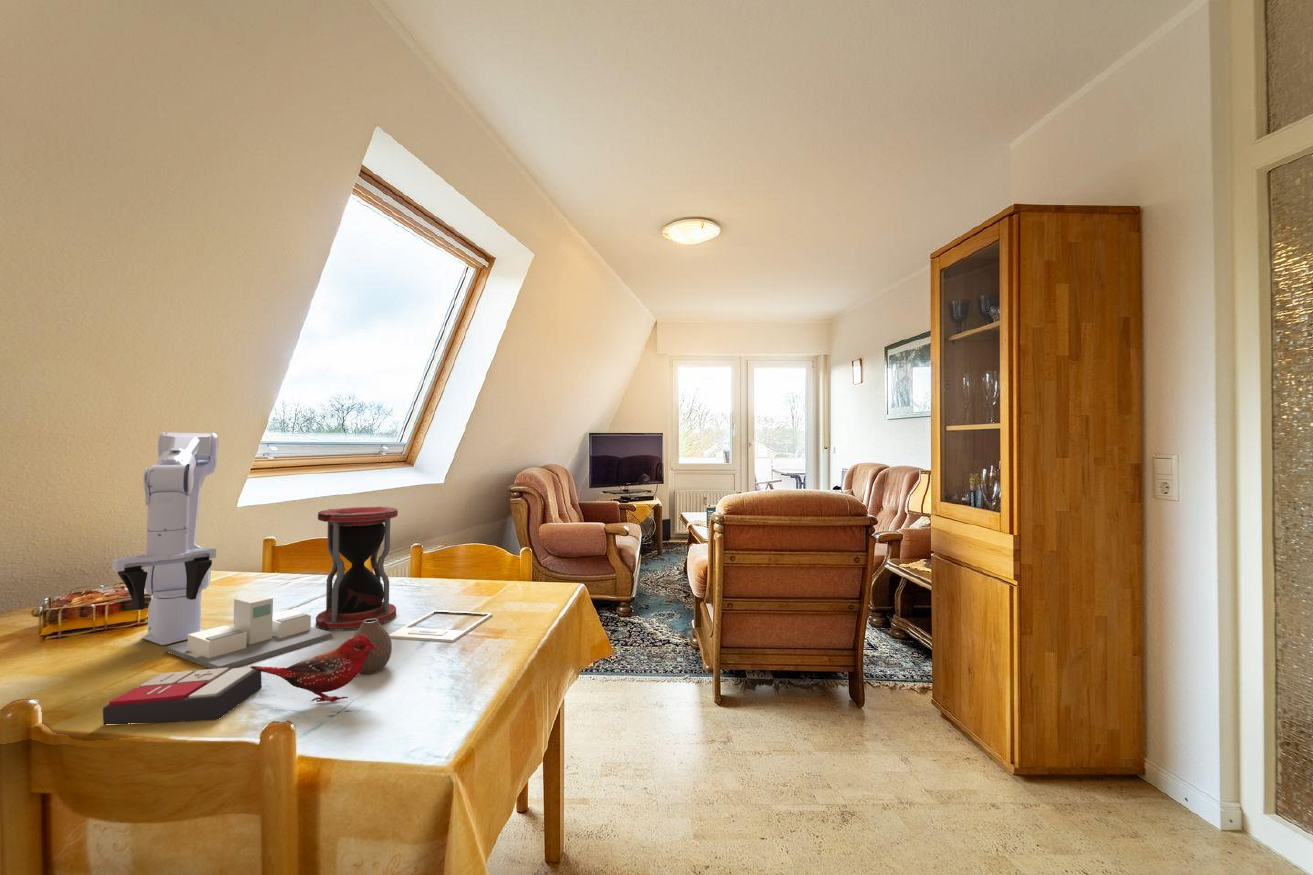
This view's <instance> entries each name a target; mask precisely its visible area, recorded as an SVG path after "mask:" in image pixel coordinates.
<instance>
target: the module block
mask: <svg viewBox="0 0 1313 875" xmlns="http://www.w3.org/2000/svg"><path fill="white" fill-rule="evenodd" d="M233 600H234V601H233V628H235V629H239V630H242V631H245V632H247V636H246V644H249V645H251V644H254V643H258V642H261V641H265V640H268V639H272V622H273V614H274V612H273V610H274V609H273V608H274V598H273V597H270V596H265V595H261V594H252V595H247V596H242V597H238V598H233Z"/></svg>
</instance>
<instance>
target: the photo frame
mask: <svg viewBox="0 0 1313 875" xmlns="http://www.w3.org/2000/svg"><path fill="white" fill-rule="evenodd" d="M435 611H441V612H457V613H471V614H470V615H474V614H488V615H484V616H483V617H481V619H479V620H477V621H476V622H474V623H473V624H472V625H470V626H468V627H466V628H465V629H464V630H458V629H457V630H453V629H441V628H440V629H438V628H437V629H435V628H421V627H413V626H416V625H417V624H419V623H421V622H422V621H425V620H427V619H428V618H430V617H431V616H430V615H432V614H435V613H436V612H435ZM434 612H435V613H434ZM429 616H430V617H429ZM432 616H433V615H432ZM490 616H491V617H492V616H493V613H492V612H473V611H458V610H457V611H456V610H454V611H453V610H440V609H439V610H438V609H436V610H435V609H434V610H432V611H431V612H429V613H427V614H425V615H423V616H421V617H420V618H417V619H415V620H413V621H412V622H410V623H408V624H406V625H405V626H402V627H401V628H399V629H397V630H395V631H393V632H391V633H388V634H389V636H390V639H397V640H410V641H411V640H412V641H426V642H427V641H429V642H430V641H431V642H444V643H445V642H446V643H447V642H449V643H454V642H456V641H457V640H459V639H460V638H462V637H463V636H465V635H466V634H468V633H469V632H471V631H472V630H474V629H475V628H476V627H477V625H478V626H479V625H481V624H482V623H484V622H485V621H486V619H487V620H488V619H489V617H490ZM427 617H428V618H427ZM491 617H490V618H491ZM424 619H425V620H424ZM420 621H421V622H420ZM483 621H484V622H483ZM418 622H419V623H418ZM481 622H482V623H481ZM480 623H481V624H480Z"/></svg>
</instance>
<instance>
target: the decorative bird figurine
mask: <svg viewBox="0 0 1313 875" xmlns="http://www.w3.org/2000/svg"><path fill="white" fill-rule="evenodd" d="M376 648H377V647H376V646H375V645H373V644H372V643H371V642H370V639H369V638H368V637H367V636H365V635H357V636H355V637H353V636H352V637H350V638H348V639H347V640H345V641H344V642H343V643H342V644H340V645H339V646H337V648H335V649H332V650H330V651H328V652H325V653H322V654H317V655H314V656H312V657H308V658H305V659H303V660H300V661H299V662H295V663H294V664H292V665H290V666H288V667H275V666H274V667H272V666H260V665H257V666H256V665H255V666H254V665H252V666H249V667H250V668H252V669H254V670H258V671H261V673H266V674H271V675H275V676H277V677H280V678H282V679H283V680H284V681H286V682H287V683H289V684H290V685H291V686H293V687H295V688H299V689H303V690H306V691H308V692H311V693H312V694H314V695H316V696H319V697H314V698H313V699H311V702H315V701H316V703H318V702H336V701H338V700H342V699H348V698H349V697H348V696H338V695H337V696H336V695H335V696H334V695H333V696H330V695H327V694H326V693H328V692H333V691H336V690H339V689H342V688H343V687H344V686H346V685H349V684H350V683H351V682H352V681H353V680H354V679H355V678H356V677H358V675H360V674H359V672H360V671H361V669H362V667H363V665H364V663H365V661H366V659H367V658H368V655H369V652H370V650H372V649H376Z"/></svg>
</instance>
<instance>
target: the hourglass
mask: <svg viewBox="0 0 1313 875" xmlns="http://www.w3.org/2000/svg"><path fill="white" fill-rule="evenodd" d="M398 515H399V510H398V508H396V507H389V506H387V507H386V506H363V507H361V506H357V507H341V508H329V509H326V510H325V509H324V510H321V511H319V512H317V520H318V521H320V522H327V535H326V538H327V541H326V542H327V544H326V545H327V546H326V548H327V552H328V554H329V555H330V557H331V559H332V568H331V571H330V572H329V574H328V575H327V578H326V590H325V591H326V592H325V593H326V595H325V596H326V598H325V599H326V600H325V602H326V603H325V606H326V607H325V610H324V611H321V612H319V613H318V614H317V615H316V616H315V625H316V627H317V628H318V629H321V630H326V631H347V630H358V629H359V628H360V627H361V625H362V622H363V621H364V620H367V619H378V621H379V623H380V624H381V625H382V624H383V623H386V621H387V622H389V621H391V620H392V619H394V618H395V617H396V615H397V607H396V606H395V605H394V604H393V603H390V579H389V576H388V575H387V574H386V572H385V567H384V563H385V559H386V557H387V556H388V555H389V553H390V550H391V519H393V518H397V516H398ZM383 542H384V545H383V547H384V549H383V551H382V553H381V554H380V556H379V557H378V552H380V548H381V544H382V543H383ZM340 554H341V555H340ZM341 556H343V557H344V559H346V560H347V561H348V562H349V563H351V567H350V568H349V569H348V570H347V571H345V570H346V568H345V563H344V561H343V559H342V558H341ZM368 559H370V565H371V568H372V570H373V571H371V570H370V569H369V568H368V567H366V566H365V563H366V561H367V560H368ZM335 575H336V578H335V579H334V577H335ZM333 579H334V582H333ZM381 579H382V582H383V584H382V582H381Z"/></svg>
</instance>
